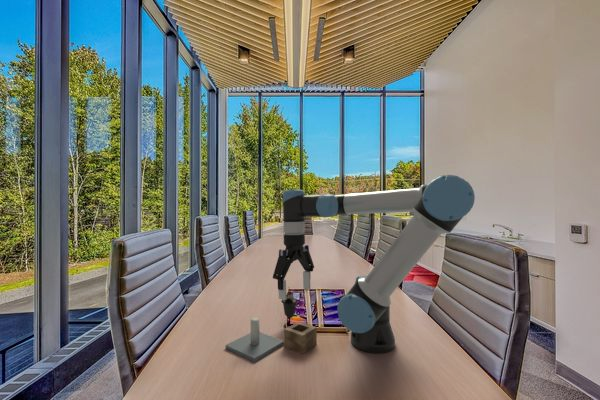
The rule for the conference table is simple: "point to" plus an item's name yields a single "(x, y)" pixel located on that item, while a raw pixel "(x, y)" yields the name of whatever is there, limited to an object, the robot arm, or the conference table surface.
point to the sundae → (289, 305)
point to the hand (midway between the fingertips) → (295, 294)
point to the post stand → (254, 343)
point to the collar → (300, 337)
